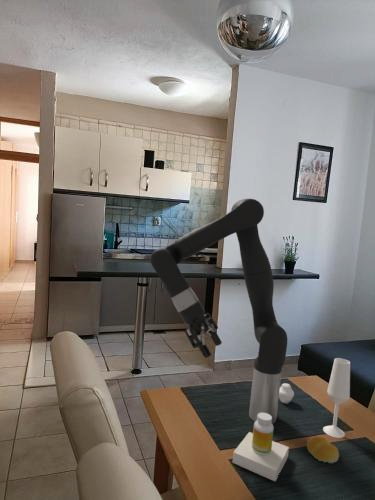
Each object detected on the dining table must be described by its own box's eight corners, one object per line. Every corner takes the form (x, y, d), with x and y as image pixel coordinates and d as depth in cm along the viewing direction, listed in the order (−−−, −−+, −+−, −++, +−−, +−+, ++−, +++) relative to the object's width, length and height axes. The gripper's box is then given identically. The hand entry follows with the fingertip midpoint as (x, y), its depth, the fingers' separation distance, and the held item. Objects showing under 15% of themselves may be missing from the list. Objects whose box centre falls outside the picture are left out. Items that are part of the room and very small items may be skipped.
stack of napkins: (248, 441, 109) (249, 431, 108) (287, 457, 103) (288, 447, 102) (232, 462, 98) (233, 452, 98) (275, 481, 92) (276, 470, 92)
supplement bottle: (271, 457, 97) (275, 423, 96) (251, 453, 98) (254, 419, 97) (270, 445, 102) (274, 413, 102) (251, 441, 104) (255, 409, 103)
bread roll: (323, 467, 100) (324, 453, 100) (301, 447, 108) (303, 434, 108) (345, 462, 103) (347, 448, 103) (323, 443, 111) (324, 431, 111)
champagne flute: (340, 440, 113) (349, 366, 111) (319, 430, 118) (327, 360, 116) (347, 432, 118) (356, 361, 116) (327, 423, 123) (335, 355, 121)
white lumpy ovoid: (284, 406, 132) (286, 388, 131) (273, 398, 137) (274, 381, 137) (296, 403, 135) (298, 385, 134) (284, 396, 140) (286, 378, 140)
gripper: (186, 308, 105) (214, 356, 104) (206, 293, 117) (231, 337, 116) (168, 317, 109) (195, 365, 108) (189, 302, 121) (213, 344, 120)
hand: (214, 350), depth 112 cm, fingers open, 8 cm apart
